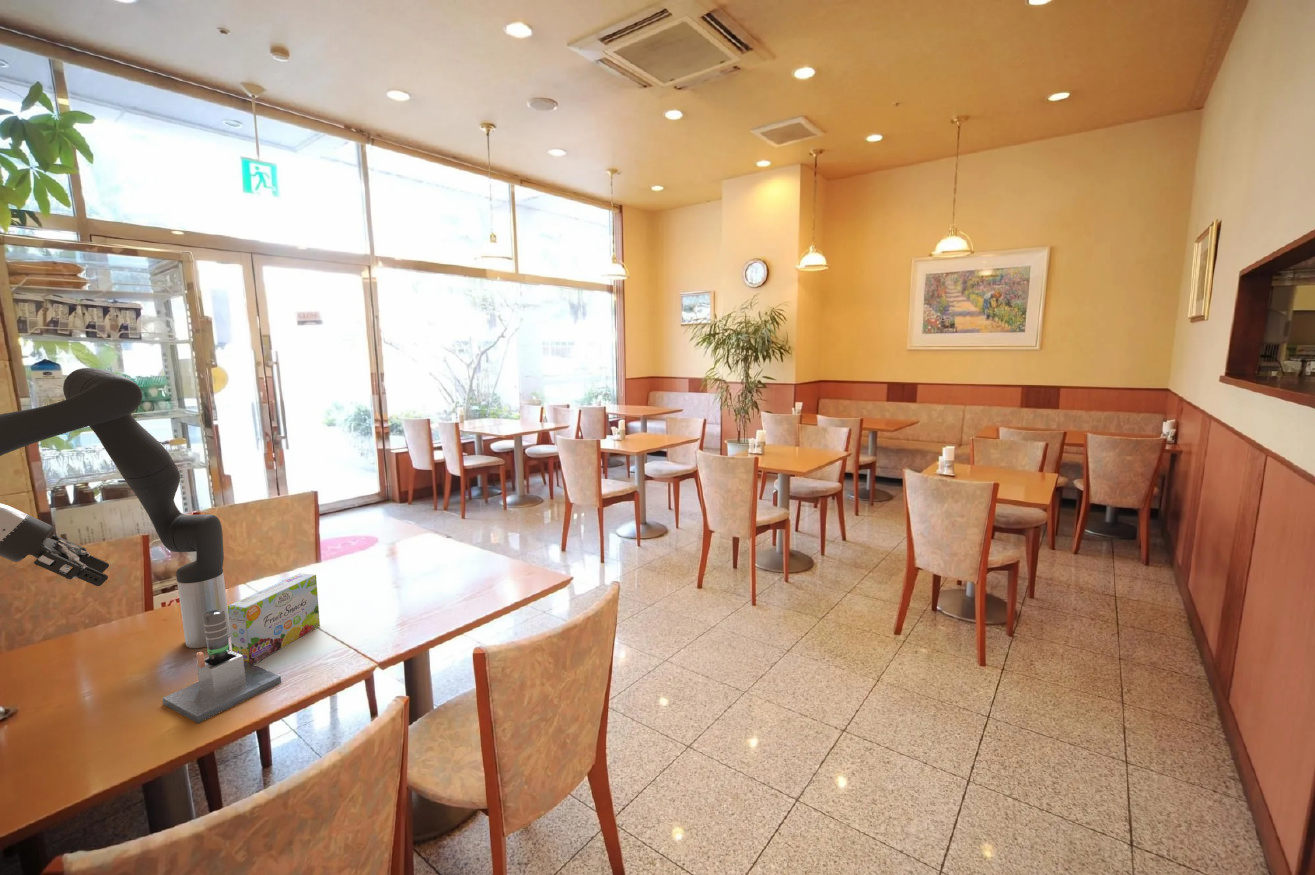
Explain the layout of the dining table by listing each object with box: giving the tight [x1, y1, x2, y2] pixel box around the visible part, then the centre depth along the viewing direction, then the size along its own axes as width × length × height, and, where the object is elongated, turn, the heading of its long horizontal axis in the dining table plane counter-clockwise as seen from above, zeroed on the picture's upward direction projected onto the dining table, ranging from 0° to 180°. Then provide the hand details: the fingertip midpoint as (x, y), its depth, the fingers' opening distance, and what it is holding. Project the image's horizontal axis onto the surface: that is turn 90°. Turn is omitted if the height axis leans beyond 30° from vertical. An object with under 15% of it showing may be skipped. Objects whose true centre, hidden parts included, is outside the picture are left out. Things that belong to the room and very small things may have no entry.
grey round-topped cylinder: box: [203, 609, 231, 666], centre depth 122 cm, size 4×4×12 cm
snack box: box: [227, 572, 321, 665], centre depth 143 cm, size 21×6×15 cm, turn 168°
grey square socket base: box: [161, 649, 282, 724], centre depth 122 cm, size 14×16×11 cm
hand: (105, 575), depth 110 cm, fingers open, 8 cm apart
